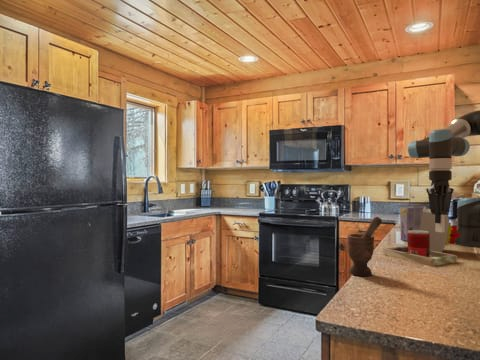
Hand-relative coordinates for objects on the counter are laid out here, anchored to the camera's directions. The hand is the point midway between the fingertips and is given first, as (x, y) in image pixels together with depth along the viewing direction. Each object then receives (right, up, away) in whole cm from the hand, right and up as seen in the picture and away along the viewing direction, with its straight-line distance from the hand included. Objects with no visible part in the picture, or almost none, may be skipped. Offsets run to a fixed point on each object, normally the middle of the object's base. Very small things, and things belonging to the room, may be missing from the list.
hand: (439, 231), depth 134 cm
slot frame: (-4, -12, +9) cm, 15 cm away
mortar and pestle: (-34, -12, -16) cm, 40 cm away
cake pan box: (+17, -12, +53) cm, 57 cm away
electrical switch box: (+11, -12, +21) cm, 27 cm away
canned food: (-4, -12, +9) cm, 16 cm away
